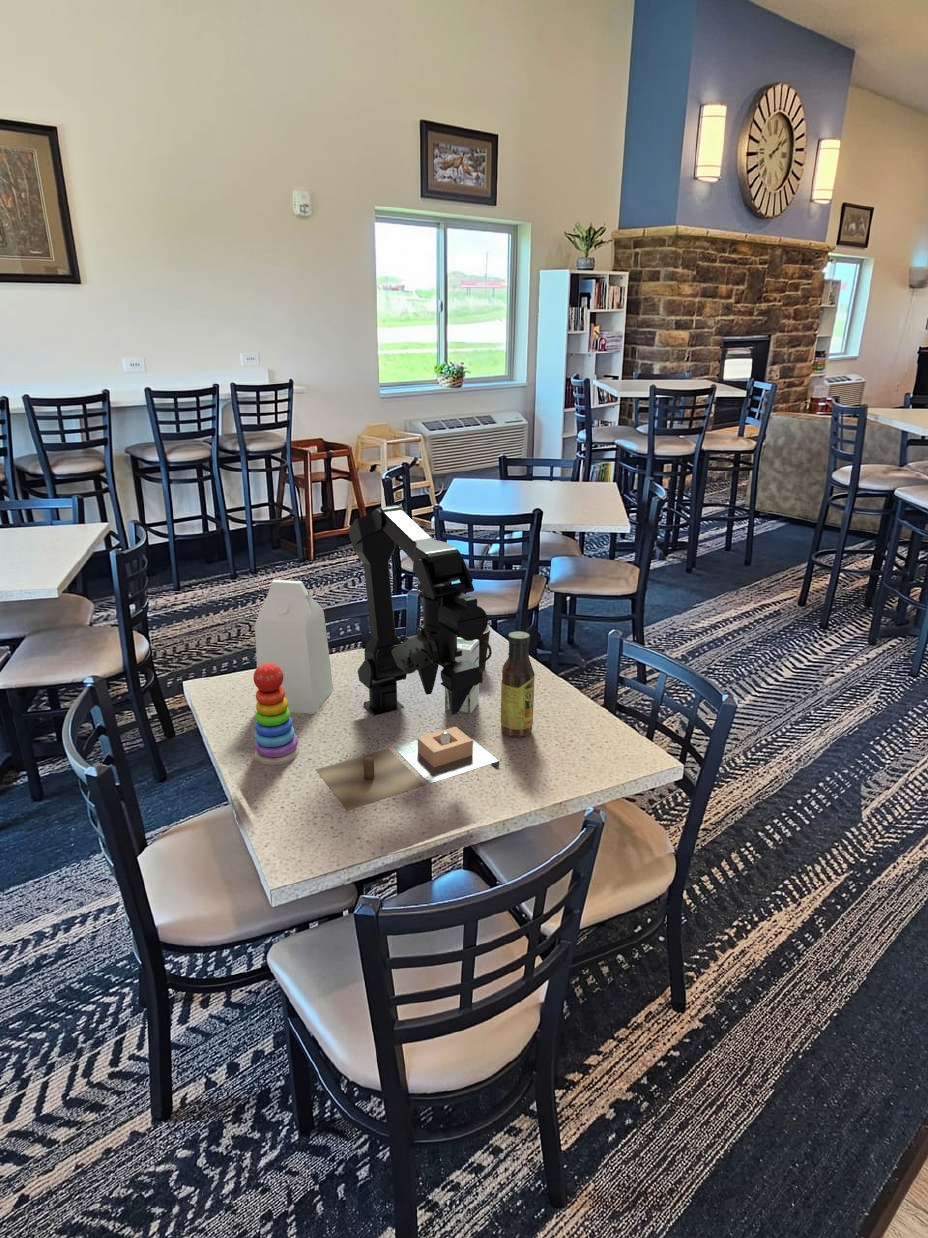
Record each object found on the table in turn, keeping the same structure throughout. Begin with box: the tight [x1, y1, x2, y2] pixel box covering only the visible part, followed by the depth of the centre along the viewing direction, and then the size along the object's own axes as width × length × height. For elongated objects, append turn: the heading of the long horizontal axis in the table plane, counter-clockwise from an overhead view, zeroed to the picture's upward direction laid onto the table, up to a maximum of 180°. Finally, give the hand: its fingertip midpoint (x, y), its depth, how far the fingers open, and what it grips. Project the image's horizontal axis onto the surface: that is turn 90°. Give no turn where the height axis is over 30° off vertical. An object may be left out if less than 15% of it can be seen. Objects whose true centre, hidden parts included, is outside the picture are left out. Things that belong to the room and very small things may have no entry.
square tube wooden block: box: [417, 726, 474, 767], centre depth 136 cm, size 6×8×3 cm
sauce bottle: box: [500, 631, 535, 738], centre depth 143 cm, size 7×6×20 cm
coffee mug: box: [457, 624, 493, 672], centre depth 171 cm, size 12×9×10 cm
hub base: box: [393, 727, 500, 784], centre depth 136 cm, size 14×14×5 cm
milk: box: [254, 579, 334, 715], centre depth 155 cm, size 12×12×26 cm
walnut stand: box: [315, 748, 425, 811], centre depth 129 cm, size 14×14×4 cm
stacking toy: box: [252, 663, 301, 766], centre depth 134 cm, size 8×8×19 cm
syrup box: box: [444, 637, 480, 715], centre depth 153 cm, size 6×6×14 cm
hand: (441, 704), depth 133 cm, fingers open, 9 cm apart
